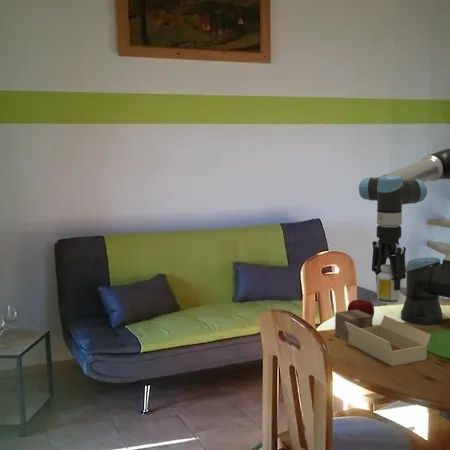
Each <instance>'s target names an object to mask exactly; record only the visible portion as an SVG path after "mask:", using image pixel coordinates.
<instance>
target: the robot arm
mask: <svg viewBox="0 0 450 450" xmlns="http://www.w3.org/2000/svg"><path fill="white" fill-rule="evenodd" d="M438 180H450V148H446V149H443V150H439V151H436V152H434V153H431V154H428V155H425V156H423V158H422V159H421V160H420V161H418V162H415V163H412V164H410V165H407V166H404V167H401V168H399V169H397V170H394V171H392V172H388V173H385V174H383V175H380V176H378V177H365V178H363V179H362V180H361V181H360V182H359V184H358V194H359V197H360V198H361V199H363V200H368V201H372V202H373V201H374V202H375V201H376V202H377V203H376V205H377V207H376V208H377V210H376V213H377V214H376V224H377V226H376V238H378V240H376V241H372V259H371V260H372V261H371V271H372V272H374V274H375V277H376V278H375V282H376V285H377V284H378V283H377V279H378V274H379V273H381V269H380V268H381V265H384V264H387V260H389V264H390V265H391V271H392V276H393V279H391V300H398V301H399V300H400V290H401V281H402V280H403V279H404V280H405V279H406V283H405V284H406V286H405V287H406V288H405V289H406V290H405V291H406V292H405V293H406V294H405V300H404V303H403V306H402V309H401V311H400V319H401V320H403V321H404V322H407V323H410V324H415V325H438V324H440V323H442V322H443V319H444V314H443V311H442V306H441V303H440V300H439V299H440V298H439V297H443V298H448V299H450V246H449V247H448V254H447V255H446V256H445V257H443V258H442V262H441V259H440V258H439V257H432V256H431V257H417V258H413V259H409V261H407V263H406V250H407V247H405V246H401V245H400V242H399V241H400V238H402V226H401V225H402V224H403V219H402V218H403V215H402V214H403V211H402V210H403V205H410V204H417V203H420V202H423V201H424V200H425V199H426V197H427V195H428V187H427V185H426V183H425V182H428V181H430V182H435V181H438ZM406 264H407V266H406ZM396 275H397V276H396Z"/></svg>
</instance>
